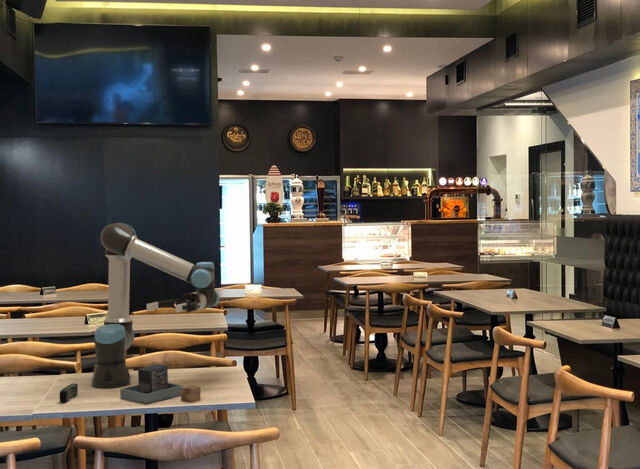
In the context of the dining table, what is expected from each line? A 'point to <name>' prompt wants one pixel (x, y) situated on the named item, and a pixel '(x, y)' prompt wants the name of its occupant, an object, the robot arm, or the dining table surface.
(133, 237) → the robot arm
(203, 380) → the dining table surface
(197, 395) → the walnut cube
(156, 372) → the small box
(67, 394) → the mobile phone
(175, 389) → the tray
